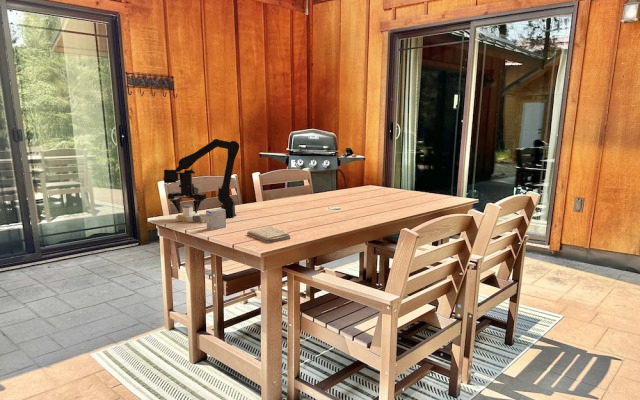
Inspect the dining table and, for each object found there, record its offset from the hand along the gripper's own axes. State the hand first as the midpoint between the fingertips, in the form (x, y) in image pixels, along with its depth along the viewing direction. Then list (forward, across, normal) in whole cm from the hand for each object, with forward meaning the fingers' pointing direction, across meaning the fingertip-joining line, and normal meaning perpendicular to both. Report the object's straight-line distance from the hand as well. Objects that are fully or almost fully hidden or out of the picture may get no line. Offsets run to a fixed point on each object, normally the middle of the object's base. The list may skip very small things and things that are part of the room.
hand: (187, 212), depth 213 cm
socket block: (+3, -4, 0) cm, 5 cm away
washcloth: (+4, -52, +24) cm, 57 cm away
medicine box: (+3, -23, +15) cm, 28 cm away
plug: (+3, 0, 0) cm, 3 cm away
